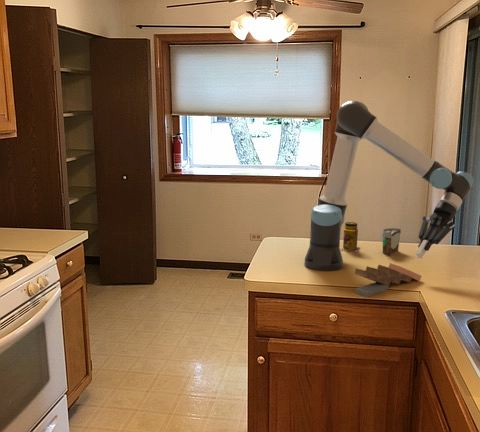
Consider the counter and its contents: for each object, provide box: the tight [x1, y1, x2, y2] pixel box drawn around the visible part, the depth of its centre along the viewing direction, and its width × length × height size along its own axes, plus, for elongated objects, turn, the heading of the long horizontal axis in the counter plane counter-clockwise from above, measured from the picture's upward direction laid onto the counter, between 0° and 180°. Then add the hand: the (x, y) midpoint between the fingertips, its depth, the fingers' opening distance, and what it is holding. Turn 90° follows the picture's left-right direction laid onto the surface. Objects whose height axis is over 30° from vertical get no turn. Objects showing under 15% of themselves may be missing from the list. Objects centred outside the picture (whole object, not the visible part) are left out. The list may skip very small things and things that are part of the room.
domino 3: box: [365, 266, 401, 285], centre depth 189 cm, size 2×5×12 cm
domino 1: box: [354, 267, 391, 287], centre depth 186 cm, size 2×5×12 cm
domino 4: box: [376, 264, 413, 283], centre depth 191 cm, size 2×5×12 cm
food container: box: [381, 227, 402, 257], centre depth 232 cm, size 12×6×10 cm, turn 144°
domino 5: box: [387, 262, 422, 282], centre depth 194 cm, size 2×5×12 cm
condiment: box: [340, 221, 361, 253], centre depth 236 cm, size 7×8×12 cm
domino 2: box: [354, 281, 390, 298], centre depth 183 cm, size 2×5×12 cm
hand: (418, 256), depth 196 cm, fingers closed
